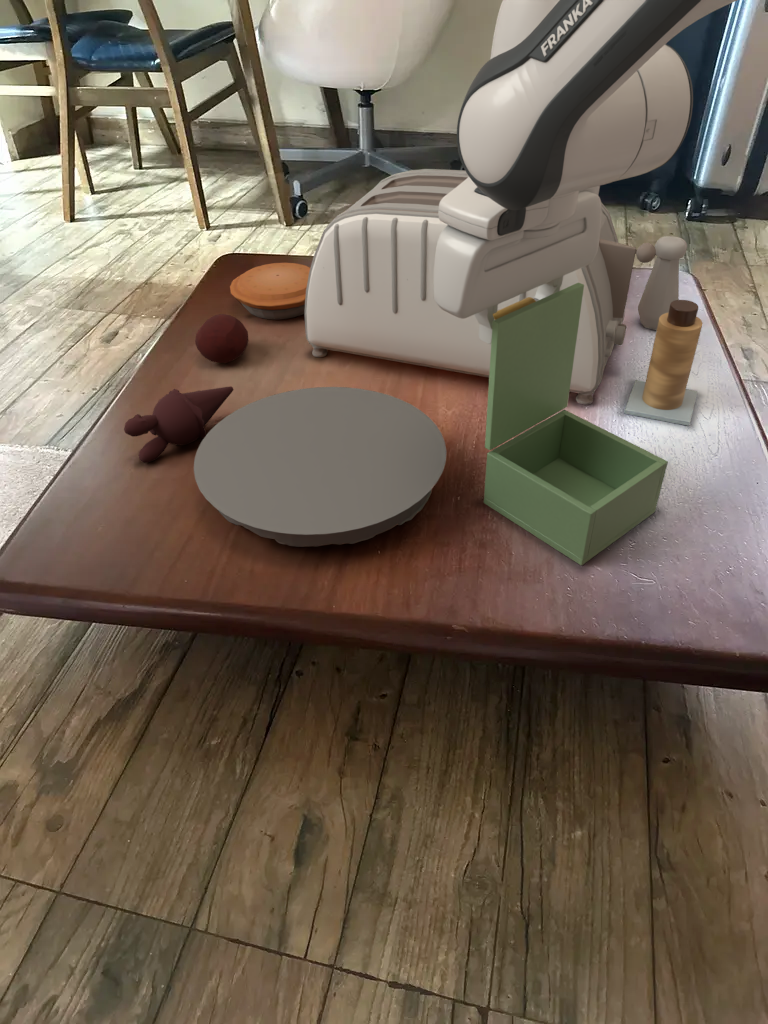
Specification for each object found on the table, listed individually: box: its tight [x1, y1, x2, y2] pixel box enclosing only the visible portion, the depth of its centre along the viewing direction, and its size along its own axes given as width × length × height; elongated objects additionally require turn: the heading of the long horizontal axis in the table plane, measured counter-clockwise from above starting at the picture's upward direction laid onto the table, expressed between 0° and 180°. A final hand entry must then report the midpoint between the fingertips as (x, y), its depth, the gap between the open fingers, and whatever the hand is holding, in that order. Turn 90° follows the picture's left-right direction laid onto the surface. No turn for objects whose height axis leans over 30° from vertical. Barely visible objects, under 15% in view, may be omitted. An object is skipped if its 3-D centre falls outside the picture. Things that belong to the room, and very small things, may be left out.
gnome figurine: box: [123, 386, 234, 464], centre depth 96 cm, size 7×7×15 cm
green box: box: [483, 409, 669, 567], centre depth 83 cm, size 14×13×7 cm
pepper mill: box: [642, 299, 704, 410], centre depth 97 cm, size 5×5×13 cm
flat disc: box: [193, 386, 447, 548], centre depth 88 cm, size 28×28×4 cm
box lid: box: [484, 283, 584, 451], centre depth 81 cm, size 14×13×5 cm
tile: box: [623, 379, 699, 427], centre depth 101 cm, size 8×8×1 cm
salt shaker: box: [637, 235, 688, 331], centre depth 114 cm, size 6×6×13 cm
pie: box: [229, 262, 311, 321], centre depth 125 cm, size 15×16×5 cm
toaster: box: [304, 168, 656, 406], centre depth 106 cm, size 21×45×22 cm, turn 68°
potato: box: [194, 313, 249, 364], centre depth 112 cm, size 8×9×6 cm
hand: (514, 328), depth 80 cm, fingers closed on box lid, 6 cm apart
